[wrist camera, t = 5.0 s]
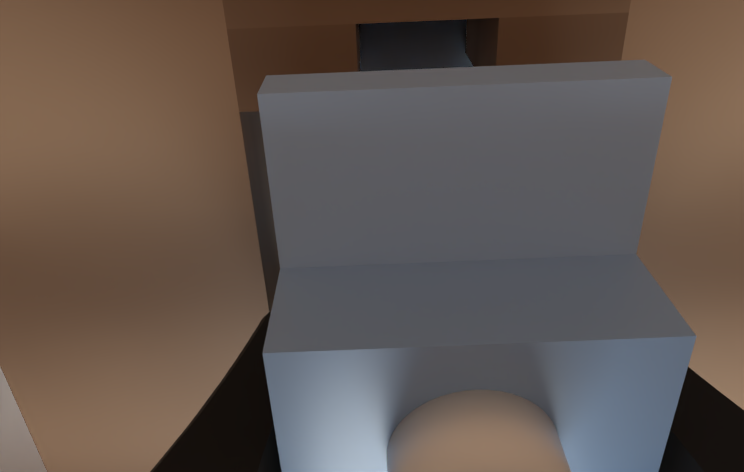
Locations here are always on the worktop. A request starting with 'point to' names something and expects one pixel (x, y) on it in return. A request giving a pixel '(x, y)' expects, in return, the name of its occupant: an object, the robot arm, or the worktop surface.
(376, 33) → the worktop surface
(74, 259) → the board
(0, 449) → the worktop surface
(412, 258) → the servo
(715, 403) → the robot arm
